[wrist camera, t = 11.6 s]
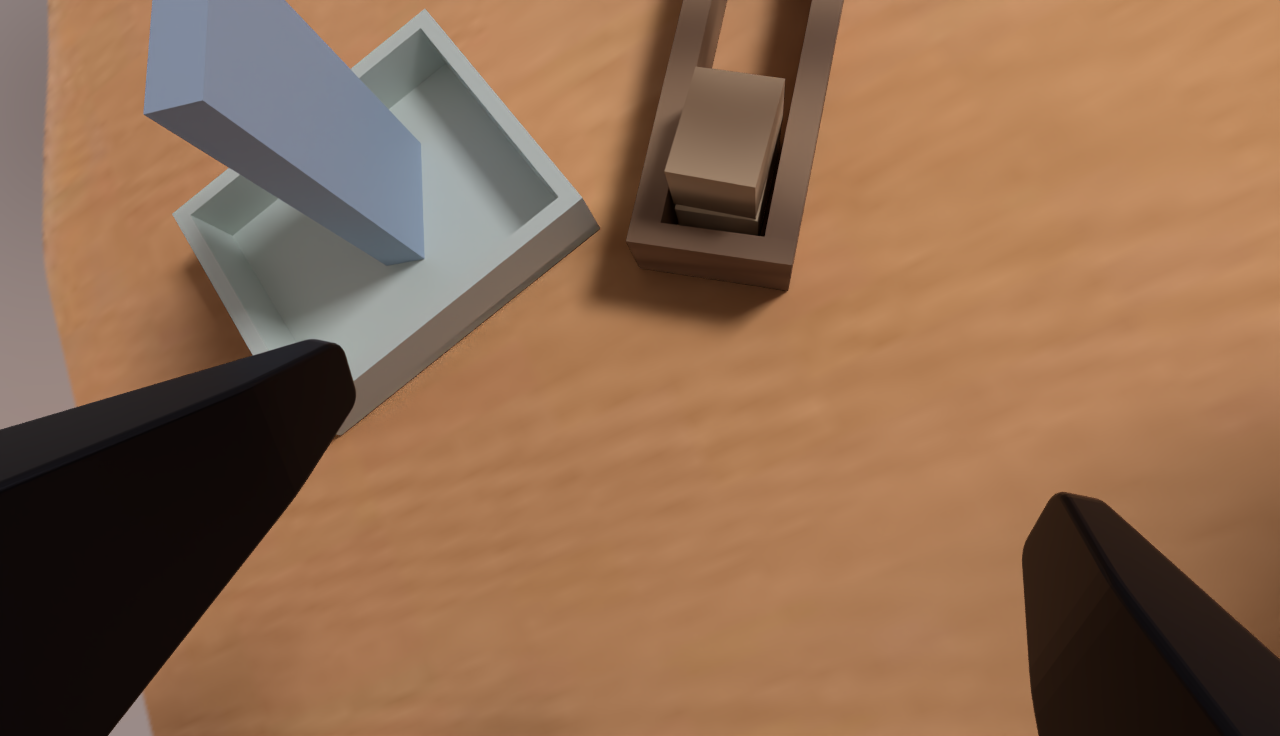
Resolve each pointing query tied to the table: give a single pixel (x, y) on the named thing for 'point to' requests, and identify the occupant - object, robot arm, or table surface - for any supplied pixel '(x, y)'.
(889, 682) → the table surface
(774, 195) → the rack
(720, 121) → the offcut
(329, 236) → the tray
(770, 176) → the offcut
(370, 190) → the pale blue tall block
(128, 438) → the robot arm
